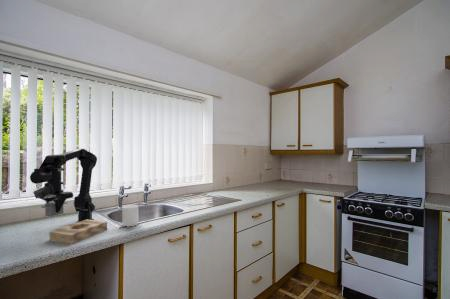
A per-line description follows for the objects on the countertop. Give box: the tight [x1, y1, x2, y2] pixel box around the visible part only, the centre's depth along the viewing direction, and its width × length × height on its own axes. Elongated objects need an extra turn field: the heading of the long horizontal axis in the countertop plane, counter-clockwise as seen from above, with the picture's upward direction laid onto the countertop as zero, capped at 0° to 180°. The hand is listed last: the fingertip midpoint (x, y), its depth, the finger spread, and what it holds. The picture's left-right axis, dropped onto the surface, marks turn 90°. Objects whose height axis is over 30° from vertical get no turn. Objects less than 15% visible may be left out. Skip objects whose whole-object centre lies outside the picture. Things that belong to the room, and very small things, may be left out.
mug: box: [121, 204, 139, 228], centre depth 134 cm, size 12×8×10 cm
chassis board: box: [49, 219, 108, 245], centre depth 118 cm, size 20×14×4 cm
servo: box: [40, 201, 68, 218], centre depth 117 cm, size 10×4×7 cm, turn 161°
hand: (54, 211), depth 117 cm, fingers closed on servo, 4 cm apart
